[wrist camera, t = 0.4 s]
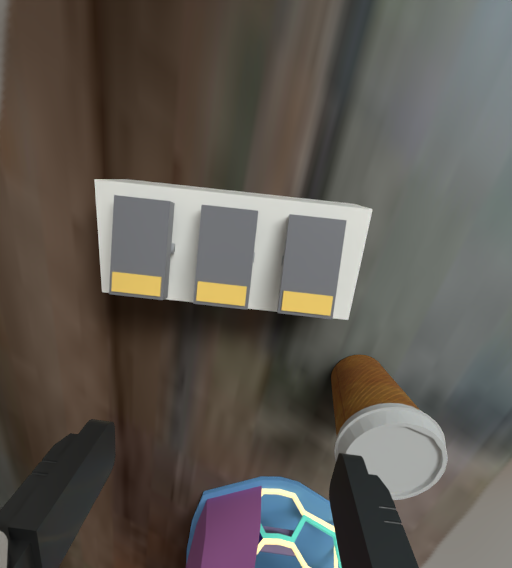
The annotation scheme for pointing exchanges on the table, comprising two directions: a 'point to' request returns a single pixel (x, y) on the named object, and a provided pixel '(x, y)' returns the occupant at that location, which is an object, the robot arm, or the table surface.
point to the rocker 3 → (311, 266)
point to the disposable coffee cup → (385, 428)
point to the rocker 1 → (141, 247)
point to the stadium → (263, 527)
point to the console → (266, 243)
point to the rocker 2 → (225, 256)
